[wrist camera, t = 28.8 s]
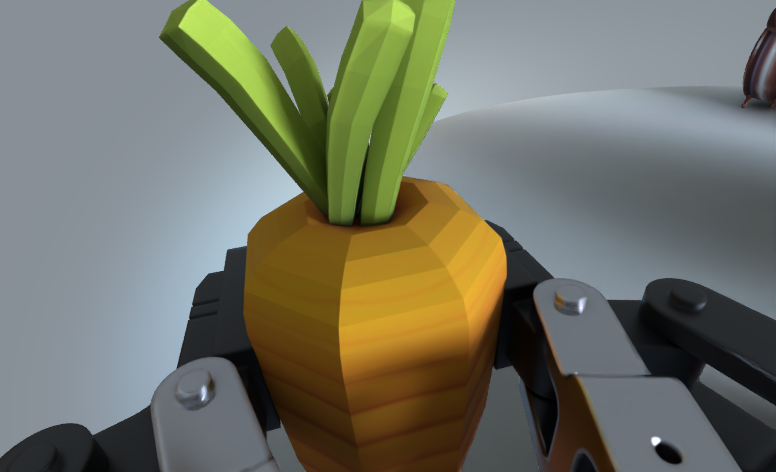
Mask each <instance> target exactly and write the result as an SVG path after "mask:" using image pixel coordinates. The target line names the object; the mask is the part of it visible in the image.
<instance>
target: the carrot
mask: <svg viewBox="0 0 776 472" xmlns="http://www.w3.org/2000/svg"><path fill="white" fill-rule="evenodd" d="M455 1H456V0H362V1H361V4H360V8H359V10H358V13H357V16H356V19H355V22H354V25H353V28H352V31H351V34H350V36H349V39H348V42H347V44H346V47H345V49H344V52H343V55H342V57H341V61H340V65H339V69H338V73H337V77H336V80H335V84H334V87H333V88H332V89H331V91H330V92H329V94H328V95H327V97H328V101H329V104H328V101H327V98H326V94H325V91H324V88H323V85H322V81H321V78H320V75H319V72H318V69H317V66H316V64H315V62H314V60H313V58H312V56H311V55H310V53H309V51H308V49H307V47H306V46H305V44H304V42H303V41H302V40H301V38H300V37H299V36H298V35H297V34H296V33H295V32H294V31H293V29H291V28H289V27H288V26H286V27H285V28H283V29H282V30H281V31H280V32H279V33H278V34H277V35H276V37H275V39H274V40H273V42H272V44H271V48H272V50H273V52H274V54H275V56H276V58H277V60H278V62H279V63H280V65H281V67H282V69H283V71H284V73H285V75H286V77H287V80H288V83H289V85H290V88H291V91H292V93H293V96H294V98H295V101H296V103H297V106H298V109H299V112H300V113H299V112H298V110H297V108H296V107H295V105H294V103H293V102H292V100H291V98H290V97H289V95H288V94H287V92H286V91H285V89H284V87H283V85H282V84H281V82H280V81H279V79H278V77H277V76H276V74H275V72H274V71H273V69H272V67H271V66H270V64H269V63H268V61H267V59H266V58H265V57H264V56H263V55H262V54H261V53H260V52H259V50H258V49H257V48H256V47H255V46H254V45H253V44H252V43H251V42H250V41H249V39H248V38H247V37H246V36H245V35H244V34H243V33H242V32H241V31H240V29H239V28H238V27H237V26H236V25H235V24H234V23H233V22H232V21H231V20H230V19H229V18H228V17H226V16H225V15H224V14H223V13H221V12H220V11H219V10H218V9H216V8H215V7H214V6H213V5H211V4H210V3H209V2H208V1H206V0H189V1H187V2H186V3H184V4H182V5H181V6H179V7H178V8H176V9H174V10H173V11H172V13H171V15H170V17H169V19H168V21H167V23H166V25H165V27H164V29H163V31H162V33H161V34H160V36H159V38H160V39H161V40H162V41H163V42H164V43H165V44H166V45H167V46H168V47H169V48H170V49H171V50H172V51H173V52H174V53H175V54H176V55H177V56H178V57H179V58H181V59H182V60H183V61H184V62H185V63H186V64H187V65H188V66H189V67H190V68H191V69H193V70H194V71H195V72H196V73H197V74H198V75H199V76H200V77H201V78H202V79H203V80H205V81H206V82H207V83H208V84H209V85H210V86H211V87H212V88H213V89H214V90H216V91H217V93H218V94H219V95H220V96H221V97H222V98H223V99H224V100H225V102H226V103H227V104H228V105H229V106H230V107H231V108H232V109H233V111H234V112H235V113H236V114H237V115H238V116H239V118H240V119H241V120H242V121H243V122H244V123H245V124H246V126H247V127H248V128H249V129H250V130H251V131H252V132H253V133H254V135H255V136H256V137H257V138H258V139H259V140H260V141H261V142H262V144H263V145H264V146H265V147H266V148H267V149H268V151H269V152H270V153H271V154H272V155H273V156H274V158H275V159H276V160H277V161H278V162H279V163H280V164H281V166H282V167H283V168H284V169H285V170H286V172H287V173H288V174H289V175H290V176H291V177H292V179H293V180H294V181H295V182H296V183H297V184H298V186H299V187H300V188H301V189H302V190H303V191H304V192H303V193H301V194H299V195H298V196H296V197H294V198H293V199H291V200H289V201H288V202H286V203H285V204H283V205H281V206H280V207H278V208H276V209H275V210H273V211H272V212H270V213H268V214H267V215H265V216H263V217H262V218H261V219H260V220H259V221H258V222H257V224H256V225H255V226H254V227H253V229H252V230H251V231H250V232H249V234H248V241H247V257H246V272H245V287H244V309H243V315H244V320H245V325H246V330H247V334H248V337H249V340H250V342H251V345H252V347H253V348H254V351H255V354H256V356H257V359H258V361H259V364H260V367H261V370H262V373H263V376H264V379H265V382H266V384H267V387H268V390H269V392H270V395H271V398H272V400H273V403H274V406H275V408H276V410H277V413H278V415H279V417H280V419H281V422H282V424H283V426H284V429H285V431H286V433H287V435H288V438H289V440H290V442H291V445H292V447H293V449H294V451H295V454H296V456H297V458H298V460H299V462H300V463H301V464H302V466H303V467H304V469H305V470H306V471H307V472H460V470H461V468H462V465H463V463H464V461H465V458H466V456H467V453H468V451H469V449H470V446H471V444H472V441H473V438H474V436H475V433H476V430H477V428H478V425H479V422H480V419H481V417H482V414H483V411H484V408H485V406H486V401H487V396H488V390H489V385H490V379H491V374H492V369H493V363H494V358H495V353H496V347H497V340H498V333H499V326H500V319H501V311H502V304H503V296H504V289H505V283H506V276H507V264H506V254H505V250H504V246H503V242H502V238H501V237H500V236H499V235H498V234H497V233H496V232H495V231H494V230H493V229H492V228H491V227H490V226H489V225H488V224H487V223H486V222H485V221H484V220H483V219H482V218H481V217H480V216H479V215H478V214H477V213H476V212H475V211H474V210H473V209H472V208H471V207H470V206H469V205H468V204H467V203H466V202H465V201H464V200H463V199H462V198H461V197H460V196H459V195H458V194H457V193H456V192H455V191H454V190H453V189H451V188H450V187H449V186H448V185H445V184H442V183H438V182H434V181H428V180H422V179H416V178H410V177H404V176H403V173H404V171H405V169H406V168H407V166H408V164H409V163H410V161H411V159H412V158H413V156H414V154H415V153H416V151H417V149H418V148H419V146H420V144H421V143H422V141H423V139H424V137H425V135H426V134H427V132H428V130H429V128H430V126H431V124H432V123H433V121H434V119H435V117H436V115H437V113H438V111H439V110H440V108H441V106H442V104H443V102H444V101H445V99H446V97H447V95H448V93H447V92H446V91H445V90H444V89H443V88H441V87H440V86H439V85H438V84H437V83H435V84H433V82H434V79H435V75H436V72H437V68H438V65H439V62H440V59H441V55H442V52H443V49H444V45H445V42H446V38H447V35H448V32H449V28H450V24H451V20H452V15H453V10H454V5H455ZM300 114H301V115H300ZM372 127H373V128H372ZM371 131H372V133H371ZM370 134H371V139H370V145H369V138H370Z"/></svg>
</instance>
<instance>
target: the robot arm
mask: <svg viewBox="0 0 776 472" xmlns="http://www.w3.org/2000/svg"><path fill="white" fill-rule="evenodd" d="M484 221H485V222H486V223H487V224H488V225H489V226H490V227H491V228H492V229H493V230H494V231H495V232H496V233H497V234H498V235H499V236H500V237H501V238H502V242H503V246H504V250H505V254H506V264H507V276H506V283H505V289H504V296H503V304H502V311H501V319H500V326H499V333H498V340H497V347H496V353H495V358H494V363H493V366H494V368H495V369H496V370H497V369H501V368H505V367H509V366H513V367H514V369H515V370H516V372H517V373H518V375H519V376H520V381H519V388H520V393H521V397H522V401H523V405H524V409H525V413H526V417H527V421H528V426H529V430H530V434H531V438H532V442H533V446H534V450H535V454H536V458H537V462H538V467H539V472H776V430H774V429H772V428H770V427H769V426H767V425H766V424H764V423H763V422H761V421H759V420H758V419H756V418H755V417H753V416H752V415H750V414H749V413H747V412H746V411H744V410H742V409H741V408H739V407H738V406H736V405H735V404H733V403H732V402H730V401H729V400H727V399H725V398H724V397H722V396H721V395H719V394H718V393H716V392H715V391H713V390H712V389H710V388H708V387H707V386H705V385H704V384H702V383H701V382H699V381H698V379H699V377H700V375H701V373H702V371H703V369H704V367H705V365H706V364H708V365H710V366H711V367H713V368H714V369H716V370H718V371H719V372H721V373H723V374H724V375H726V376H728V377H729V378H731V379H733V380H734V381H736V382H738V383H739V384H741V385H742V386H744V387H746V388H747V389H749V390H751V391H752V392H754V393H756V394H757V395H759V396H761V397H762V398H764V399H766V400H767V401H769V402H770V403H772V404H774V405H775V406H776V320H774V319H772V318H770V317H768V316H765V315H763V314H761V313H759V312H757V311H755V310H753V309H751V308H749V307H747V306H744V305H742V304H740V303H738V302H736V301H734V300H732V299H730V298H728V297H726V296H723V295H721V294H719V293H717V292H715V291H713V290H711V289H709V288H707V287H704V286H702V285H700V284H697V283H694V282H691V281H687V280H682V279H674V278H664V279H658V280H654V281H652V282H650V283H649V284H648V285H647V287H646V289H645V292H644V295H643V298H642V300H606V298H605V297H604V296H603V295H602V294H601V293H600V292H599V291H598V290H596V289H595V288H593V287H592V286H590V285H588V284H585V283H583V282H580V281H577V280H572V279H564V278H557V279H555V278H554V277H553V276H552V275H551V274H550V273H549V272H548V271H547V270H546V269H545V268H544V267H543V266H542V265H541V264H540V263H538V262H537V261H536V260H535V259H534V258H533V257H532V256H531V255H530V254H529V253H528V252H527V251H526V250H525V249H524V250H523V247H522V246H521V245H520V244H519V243H518V242H517V241H514V238H513V237H512V236H511V235H510V234H509V233H508V232H507V231H506V230H505V229H504V228H502V227H500V226H498V225H496V224H494V223H492V222H490V221H487V220H484ZM246 257H247V246H244V247H239V248H234V249H228V250H227V255H226V261H225V267H224V271H220V272H214V273H209V274H208V275H207V276H206V277H205V278H204V280H203V281H202V282H201V283H200V284H199V286H198V287H197V288H196V291H195V295H194V299H193V303H192V305H193V307H191V311H190V316H189V319H190V320H188V324H187V328H186V332H185V336H184V341H183V344H182V348H181V353H180V356H179V361H178V365H177V369H176V370H175V371H173V372H172V373H171V374H169V375H168V376H167V377H166V378H165V379H164V380H163V381H162V382H161V384H160V385H159V386H158V387H157V389H156V391H155V392H154V395H153V397H152V400H151V404H150V405H149V406H148V407H147V408H145V409H143V410H142V411H140V412H139V413H137V414H135V415H133V416H131V417H130V418H127V419H125V420H123V421H121V422H119V423H117V424H115V425H113V426H111V427H109V428H107V429H105V430H103V431H101V432H99V433H97V434H95V435H92V434H91V433H90V431H89V430H88V429H87V428H86V427H84V426H82V425H79V424H73V423H69V424H68V423H67V424H61V425H56V426H52V427H49V428H46V429H44V430H41V431H39V432H37V433H35V434H33V435H31V436H30V437H28V438H26V439H24V440H23V441H21V442H20V443H18V444H17V445H15V446H14V447H13V448H12V449H10V450H9V451H8V452H7V453H5V454H4V455H3V456H2V457H1V458H0V472H280V470H279V468H278V466H277V463H276V461H275V459H274V457H273V456H272V453H271V451H270V449H269V446H268V444H267V431H270V430H274V429H278V428H281V423H280V417H279V415H278V413H277V410H276V408H275V406H274V403H273V400H272V398H271V395H270V392H269V390H268V387H267V384H266V382H265V379H264V376H263V373H262V370H261V367H260V364H259V361H258V359H257V356H256V354H255V351H254V348H253V347H252V345H251V342H250V340H249V337H248V334H247V330H246V325H245V320H244V315H243V309H244V287H245V272H246Z"/></svg>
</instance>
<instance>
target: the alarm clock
mask: <svg viewBox="0 0 776 472" xmlns="http://www.w3.org/2000/svg"><path fill="white" fill-rule="evenodd" d="M743 92H744V95H745V96H747V97H746V99H745V102H744V104H743V105H742V108H745V107H746V104H747V103H748V102H749V101H750V100H751V98H755V99H759V100H763V101H771V102H772V105H771V106H770V109H773V108H774V105H775V104H776V8H775V9H774V11H773V12H772V13H771V15H770V17H769V20H768V22H767V28H766V29H765V30H764V32H763V33H762V35H761V36H760V38H759V39H758V41H757V43H756V45H755V47H754V49H753V51H752V53H751V55H750V57H749V60H748V63H747V65H746V68H745V72H744V76H743Z"/></svg>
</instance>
